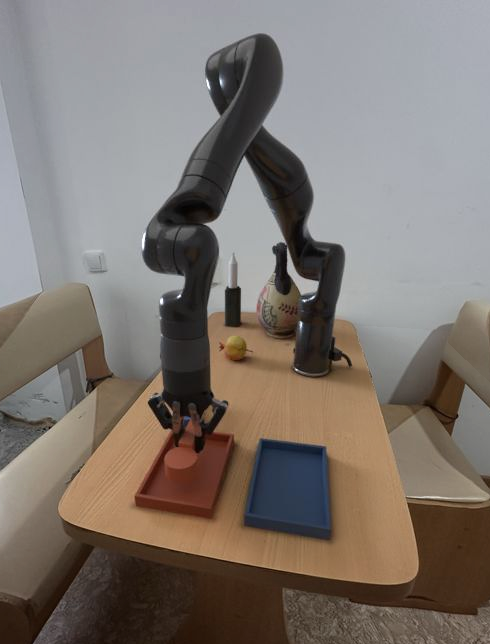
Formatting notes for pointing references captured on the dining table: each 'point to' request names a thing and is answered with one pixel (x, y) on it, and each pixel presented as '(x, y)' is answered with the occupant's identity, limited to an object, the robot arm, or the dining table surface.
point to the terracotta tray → (192, 494)
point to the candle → (233, 296)
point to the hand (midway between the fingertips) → (190, 448)
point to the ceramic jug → (279, 299)
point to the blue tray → (290, 489)
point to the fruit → (234, 348)
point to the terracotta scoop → (182, 458)
